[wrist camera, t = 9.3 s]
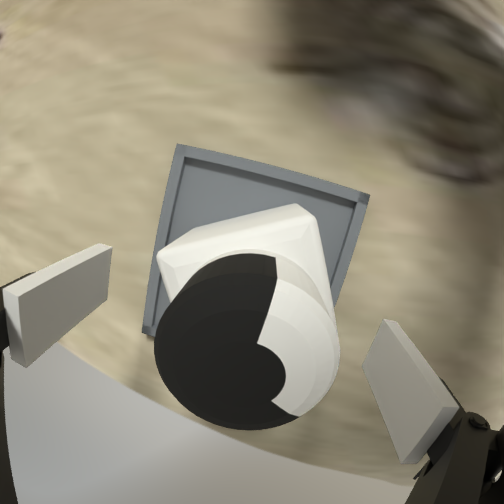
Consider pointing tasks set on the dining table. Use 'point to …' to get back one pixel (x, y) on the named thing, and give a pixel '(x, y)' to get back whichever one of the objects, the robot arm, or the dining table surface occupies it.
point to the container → (248, 319)
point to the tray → (249, 210)
